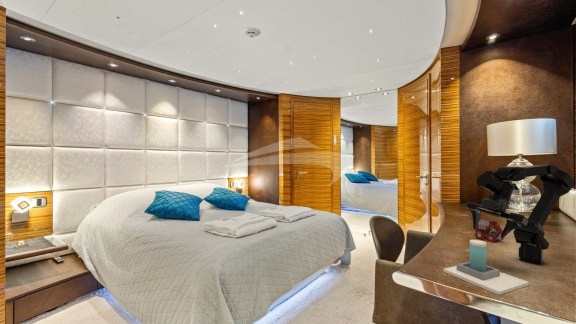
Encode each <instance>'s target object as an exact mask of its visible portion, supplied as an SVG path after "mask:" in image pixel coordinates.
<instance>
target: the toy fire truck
mask: <svg viewBox="0 0 576 324" xmlns="http://www.w3.org/2000/svg"><path fill="white" fill-rule="evenodd" d="M474 230H475V231H474V232H475V233H474V236H475V238H476V240H481V241H482V240H484V239H486V240H487V241H488V242H489V243H494V242H497V241H503V240H504V239H505V237H504V238H503V239H502V238H501V234H502V232H503V229H502V227H501V225H500V224H498V221H497V220H489V219H484V218H480V220H479V223H478V225H477V228H476V229H474Z"/></svg>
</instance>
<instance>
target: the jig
mask: <svg viewBox="0 0 576 324" xmlns="http://www.w3.org/2000/svg"><path fill="white" fill-rule="evenodd" d="M443 272H444V273H446V274H449V275H451V276H454V277H455V278H458V279H460V280H463V281H465V282H468V283H469V284H472V285H474V286H476V287H480V288H482V289H484V290H486V291H488V292H491V293H494V294H495V295H498V296H501V295H503V294H504V295H505V294H507V293H509V292H513V291H516V290H519V289H522V288H525V287H528V286H529V285H530V281H527V280H524V279H521V278H518V277H516V276H512V275H510V274H507V273H504V272H501V270H500V269H498V268H495V267H492V266H489V265H487V264H486V272H483V273H481V272H478V271H476V270H473V269H470V260H469V261H466V262H461V263H456V265H455V266H451V267H445V268H443Z"/></svg>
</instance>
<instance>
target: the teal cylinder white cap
mask: <svg viewBox="0 0 576 324" xmlns="http://www.w3.org/2000/svg"><path fill="white" fill-rule="evenodd" d="M487 248H488V247H487V242H486V241H483V240H482V239H481V240H480V239H470V240H469V261H470V269H473V270H476V271H478V272H481V273H483V272H486V265H487V251H488V250H487Z"/></svg>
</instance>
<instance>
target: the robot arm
mask: <svg viewBox="0 0 576 324" xmlns="http://www.w3.org/2000/svg"><path fill="white" fill-rule="evenodd" d="M535 176H536V177H537V176H539V180H540V181H541V182H542V189H543V193H541V195H540V197H539V198H538V200H537V202H536V204H535V205H534V207H533V209H532V211H531V212H530V214H529V216H528V217H525V215H523V214H520V213H515V212H512V211H511V212H510V213H507V209H508V206H510V204H511V202H510V200H511V198H512V195H513V192H514V191H519V187H518V186H517V184H516V183H517V182H520V181H523V180H525V179H526V178H528V177H535ZM514 182H515V183H514ZM476 184H477V186H479V187H482V188H483V189H485V190H487V191H488V192H491V194H490V195H489V196H488V197H487V198H485V197H484V198H482V200H481V204H479V203H477V202H474V201H473V202H472V201H468V202H467V203H466V204H465V208H466V209H467V210H468V211H469V212H470V213H471V215H472V226H473V227H472V228H473V230H475V229H476V228H477V225H478V223H479V220H480V219H482V214H481V213H485V214H489V215H492V216H496V217H500V218H504V219H506V222H505V226H504V228H503V229H502V231H503V232H502V234H501V238H502V239H503V238H504V239H505V238H506V236H507V235H509V234H510V233H511V232H512V231H513V232H512V233H513V237H514V240H515V243H516V244H520V245H519V247H518V259H519V261H521V262H525V263H529V264H530V263H531V264H535V265H539V266H542V264H543V263H544V262H545V260H544V251H546V250H548V249H549V247H550V242H549V241H548V240H547V239H546V237H545V234H546V233H545V230H544V229H545V228H544V225H545V223H546V221H547V219H548V218H549V216H550V215H551V213H552V212H553V209H554V208H555V206H556V204H557V202H559V201H558V200H559V199H560V198H561V197H562V196H564V195H567V194H568V193H570V191H571V189H573V188H574V186H575V180H574V179H573V178H572V176H570V174H569V173H568V172H566V171H563V170H562V169H560V168H558V167H557V166H556V165H555V164H552V163H550V164H549V163H541V164H537V165H535V164H534V165H530V166H529V165H528V166H504V165H503V166H499V167H498V168H497V170H495V171H494V172H493V171H492V170H485V171H484V172H483V173H482V174H480V175H478V177H476ZM504 239H503V240H504Z"/></svg>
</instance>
